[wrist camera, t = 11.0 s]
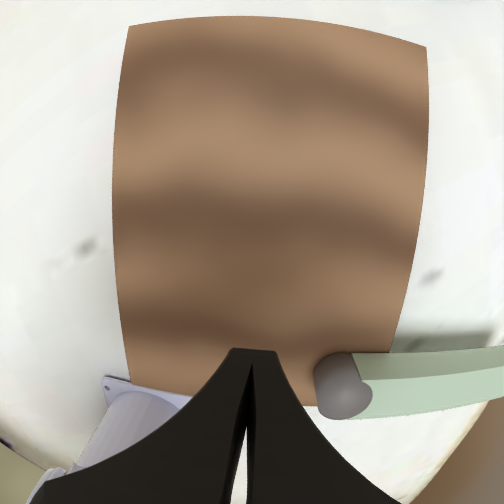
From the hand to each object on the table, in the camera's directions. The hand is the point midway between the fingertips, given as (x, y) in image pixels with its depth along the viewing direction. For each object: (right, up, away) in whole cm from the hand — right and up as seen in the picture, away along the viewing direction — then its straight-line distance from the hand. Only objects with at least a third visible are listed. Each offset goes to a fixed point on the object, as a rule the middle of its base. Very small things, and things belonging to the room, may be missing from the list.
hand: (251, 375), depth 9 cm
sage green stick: (+12, -4, +7) cm, 14 cm away
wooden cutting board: (+1, +5, +8) cm, 10 cm away
